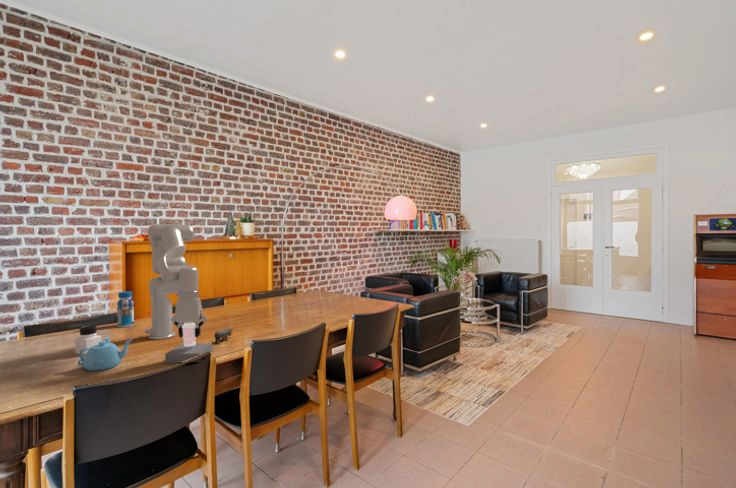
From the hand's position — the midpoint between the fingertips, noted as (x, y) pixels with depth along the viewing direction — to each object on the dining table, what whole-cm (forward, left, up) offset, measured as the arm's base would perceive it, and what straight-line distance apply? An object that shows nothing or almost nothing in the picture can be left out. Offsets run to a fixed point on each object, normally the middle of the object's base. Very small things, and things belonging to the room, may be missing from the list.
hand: (189, 336), depth 159 cm
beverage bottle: (-64, +58, -10) cm, 87 cm away
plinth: (0, 0, -9) cm, 9 cm away
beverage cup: (0, 0, -4) cm, 4 cm away
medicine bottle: (-50, +9, -10) cm, 52 cm away
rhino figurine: (+6, +26, -10) cm, 28 cm away
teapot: (-30, -9, -10) cm, 33 cm away
